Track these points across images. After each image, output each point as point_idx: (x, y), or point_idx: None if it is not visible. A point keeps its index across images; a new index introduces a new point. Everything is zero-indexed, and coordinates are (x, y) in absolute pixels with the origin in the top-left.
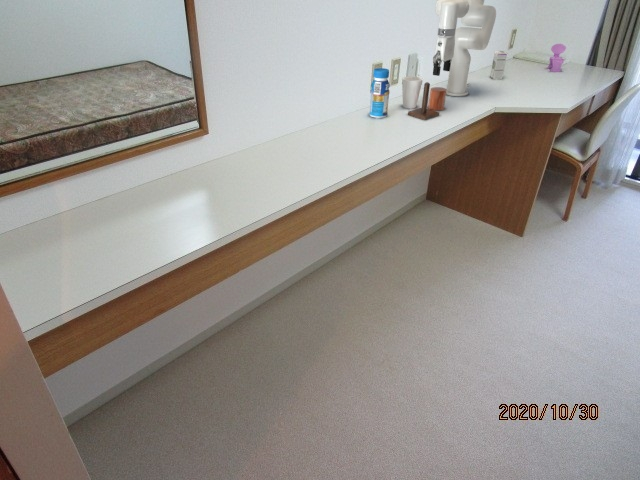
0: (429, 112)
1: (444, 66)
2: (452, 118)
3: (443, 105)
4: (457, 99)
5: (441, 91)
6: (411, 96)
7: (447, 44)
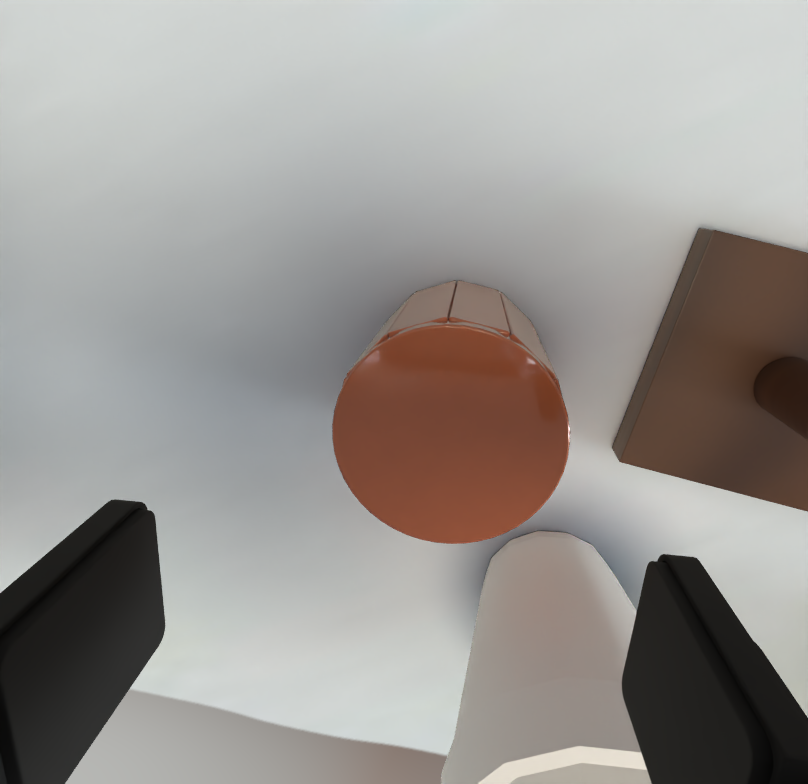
0: (773, 325)
1: (110, 687)
2: (729, 42)
3: (466, 288)
4: (29, 306)
5: (538, 360)
6: None
7: None
